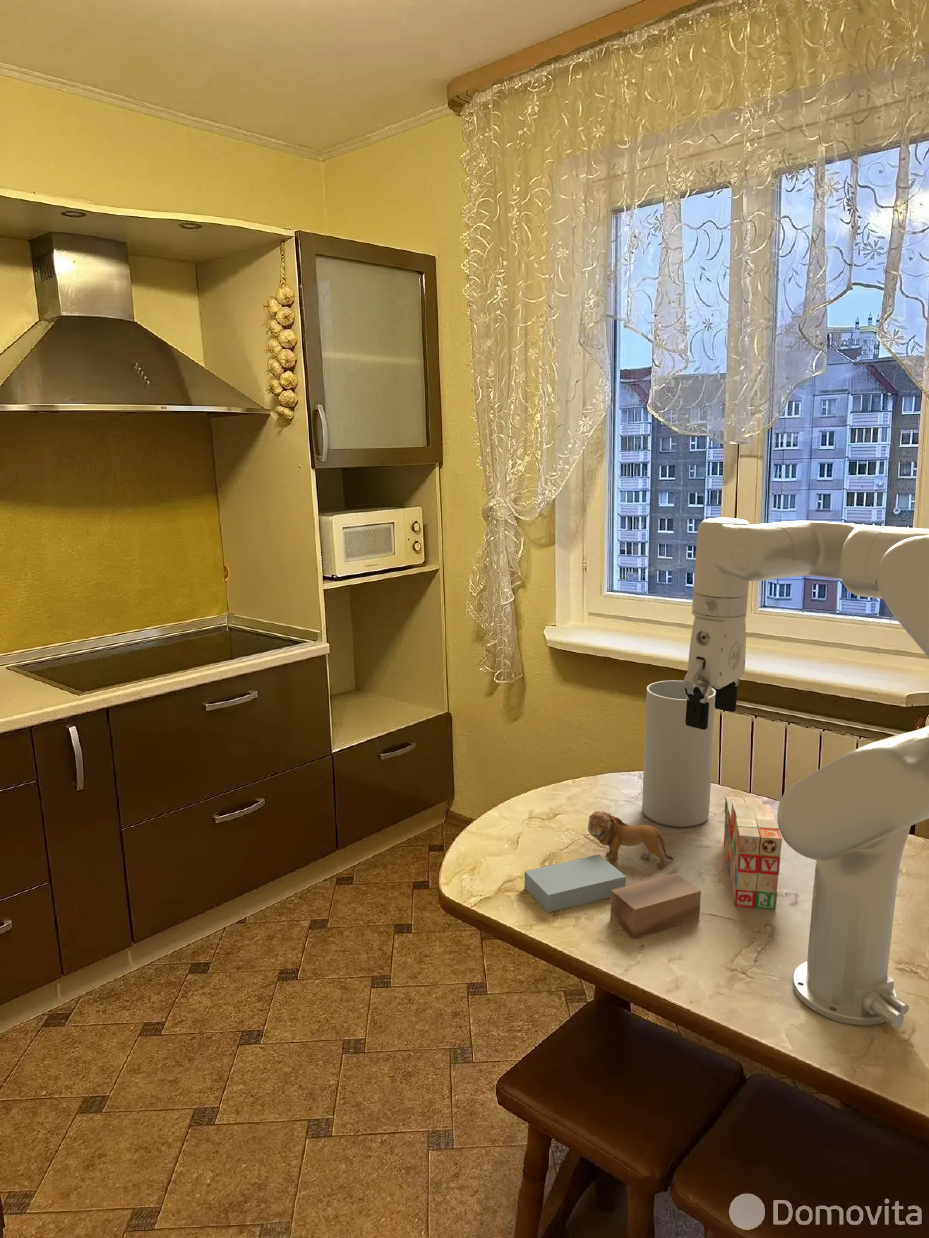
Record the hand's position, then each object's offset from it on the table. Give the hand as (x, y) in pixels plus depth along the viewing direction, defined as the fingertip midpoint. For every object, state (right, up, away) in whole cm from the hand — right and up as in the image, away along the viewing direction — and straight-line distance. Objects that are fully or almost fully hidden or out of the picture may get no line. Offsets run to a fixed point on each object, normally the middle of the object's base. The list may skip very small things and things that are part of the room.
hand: (711, 718), depth 128 cm
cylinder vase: (+4, -23, +39) cm, 46 cm away
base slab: (-19, -29, +12) cm, 36 cm away
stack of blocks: (+11, -28, +16) cm, 34 cm away
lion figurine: (-8, -27, +21) cm, 35 cm away
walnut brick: (-8, -31, +4) cm, 32 cm away
